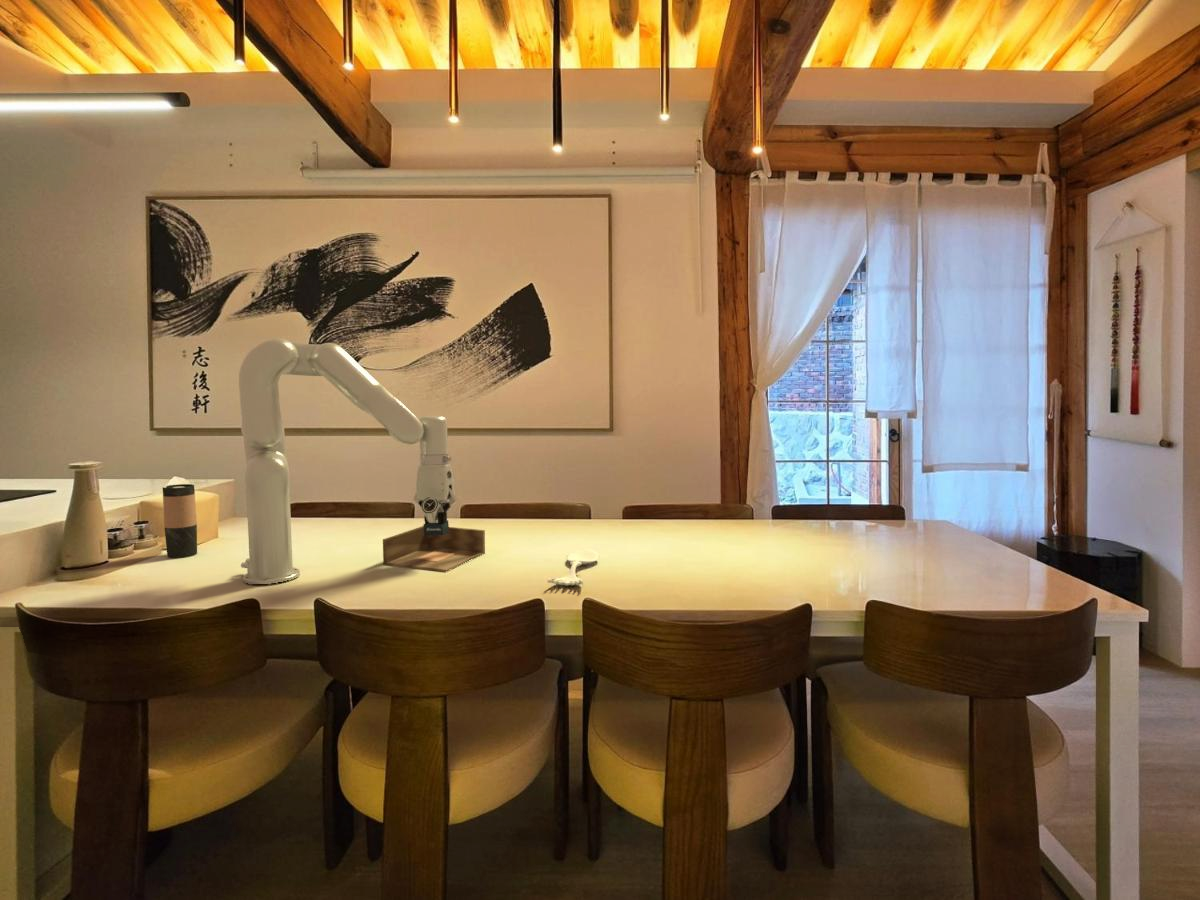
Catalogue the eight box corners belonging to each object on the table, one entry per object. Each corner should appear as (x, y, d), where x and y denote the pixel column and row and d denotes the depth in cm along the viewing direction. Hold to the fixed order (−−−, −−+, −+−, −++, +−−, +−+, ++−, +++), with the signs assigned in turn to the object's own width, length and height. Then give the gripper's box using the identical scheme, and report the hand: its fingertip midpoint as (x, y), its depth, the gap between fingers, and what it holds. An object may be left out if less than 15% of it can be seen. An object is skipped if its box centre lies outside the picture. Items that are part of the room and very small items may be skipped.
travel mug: (203, 554, 179) (199, 485, 177) (173, 560, 172) (169, 488, 170) (190, 550, 183) (186, 483, 181) (161, 556, 176) (157, 486, 175)
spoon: (545, 592, 148) (545, 578, 147) (570, 557, 179) (570, 545, 179) (583, 594, 146) (583, 579, 146) (601, 558, 178) (601, 546, 178)
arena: (383, 564, 169) (382, 539, 168) (426, 547, 188) (426, 524, 187) (446, 571, 163) (446, 545, 162) (484, 553, 181) (484, 530, 181)
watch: (421, 537, 171) (417, 498, 170) (433, 529, 179) (429, 492, 178) (440, 537, 170) (437, 497, 169) (451, 529, 178) (448, 491, 177)
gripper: (467, 460, 173) (468, 524, 175) (417, 457, 179) (418, 520, 181) (452, 462, 166) (453, 530, 168) (400, 460, 172) (402, 525, 174)
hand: (435, 524), depth 174 cm, fingers closed on watch, 3 cm apart
